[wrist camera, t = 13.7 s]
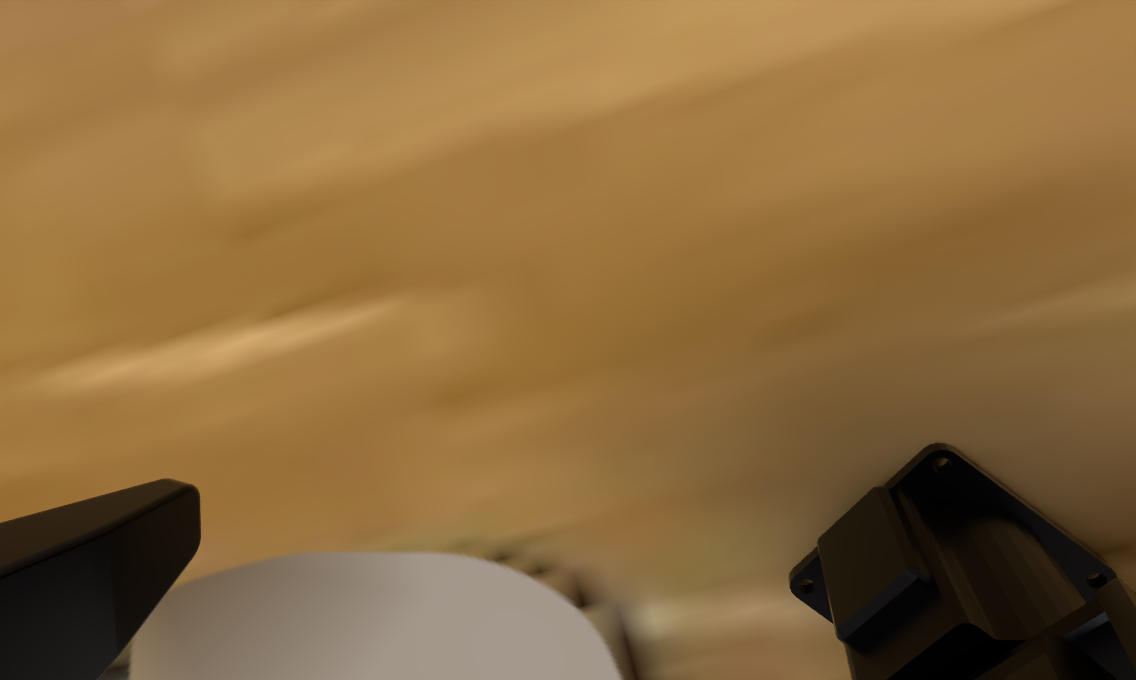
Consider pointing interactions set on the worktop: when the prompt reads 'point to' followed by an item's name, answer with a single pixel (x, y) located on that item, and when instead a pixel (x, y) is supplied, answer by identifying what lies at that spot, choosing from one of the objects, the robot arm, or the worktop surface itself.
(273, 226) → the worktop surface
